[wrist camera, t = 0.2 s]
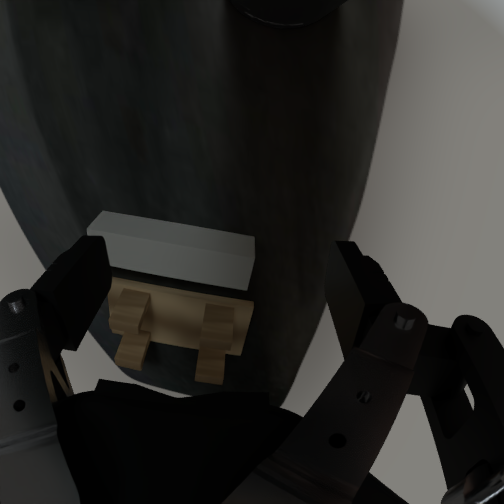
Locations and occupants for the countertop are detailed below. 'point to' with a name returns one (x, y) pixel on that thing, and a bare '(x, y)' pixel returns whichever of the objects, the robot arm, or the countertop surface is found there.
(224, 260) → the clay bar
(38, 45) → the countertop surface
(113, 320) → the rack
